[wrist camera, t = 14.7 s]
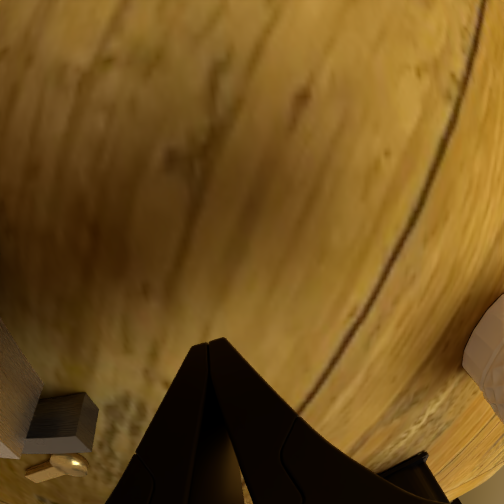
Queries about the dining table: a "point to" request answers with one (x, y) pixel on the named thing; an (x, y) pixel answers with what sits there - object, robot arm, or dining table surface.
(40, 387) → the block
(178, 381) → the robot arm
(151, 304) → the dining table surface
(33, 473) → the brass key
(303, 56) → the dining table surface
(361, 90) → the dining table surface
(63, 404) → the frame
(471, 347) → the white cup
